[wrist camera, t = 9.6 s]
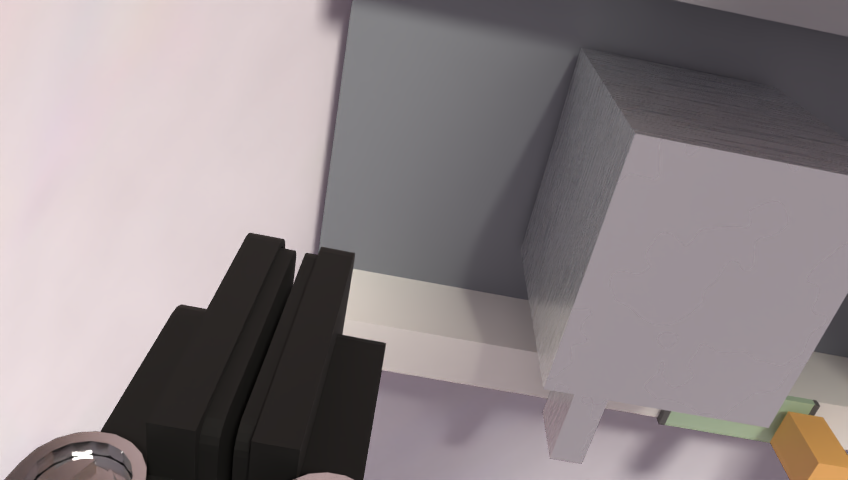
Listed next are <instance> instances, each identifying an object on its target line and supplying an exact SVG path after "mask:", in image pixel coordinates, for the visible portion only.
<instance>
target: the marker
mask: <svg viewBox="0 0 848 480" xmlns="http://www.w3.org/2000/svg"><path fill="white" fill-rule="evenodd" d="M770 443H771V445H772V447H773V449H774V451H775V453H776V455H777V457H778V458H779V460H780V462H781V464H782V466H783V468H784V470H785V472H786V473H787V475H788V477H789V479H790V480H848V455H847V453H846V452H845V450H844V449H843V447H842V446H841V444H840V443H839V441H838V439H837V438H836V436H835V435H834V433H833V432H832V430H831V429H830V427H829V426H828V424H827V422H826V421H825V419H824V418H823V417H818V416H813V415H807V414H801V413H795V412H790V411H788V412H787V414H786V416H785V417H784V419H783V421H782V422H781V424H780V426H779V427H778V429H777V431H776V432H775V434H774V436H773V438H772V439H771V441H770Z"/></svg>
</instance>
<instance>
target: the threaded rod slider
mask: <svg viewBox="0 0 848 480" xmlns="http://www.w3.org/2000/svg"><path fill="white" fill-rule="evenodd" d="M521 257H522V263H523V269H524V275H525V281H526V287H527V293H528V299H529V305H530V311H531V317H532V323H533V329H534V335H535V341H536V347H537V353H538V359H539V365H540V371H541V377H542V383H543V389H545V390H550V393H549V396H548V399H547V401H546V404H545V407H544V410H543V419H544V425H545V432H546V438H547V444H548V451H549V457H550V459H555V460H561V461H567V462H573V463H579V464H582V462H583V459H584V457H585V455H586V452H587V450H588V448H589V445H590V443H591V441H592V438H593V436H594V433H595V431H596V429H597V426H598V424H599V422H600V419H601V417H602V415H603V412H604V410H605V407H606V405H607V403H608V400H609V401H615V402H621V403H627V404H632V405H638V406H644V407H650V408H656V409H661V410H667V411H673V412H679V413H685V414H690V415H696V416H702V417H708V418H714V419H719V420H725V421H731V422H737V423H743V424H748V425H754V426H760V427H766V428H769V426H770V425H771V423H772V421H773V420H774V418H775V416H776V414H777V413H778V411H779V409H780V408H781V406H782V404H783V403H784V401H785V399H786V397H787V396H788V394H789V392H790V391H791V389H792V387H793V385H794V384H795V382H796V380H797V379H798V377H799V375H800V374H801V372H802V370H803V368H804V367H805V365H806V363H807V362H808V360H809V358H810V356H811V355H812V353H813V351H814V350H815V348H816V346H817V345H818V343H819V341H820V339H821V338H822V336H823V334H824V333H825V331H826V329H827V328H828V326H829V324H830V322H831V321H832V319H833V317H834V316H835V314H836V312H837V310H838V309H839V307H840V305H841V304H842V302H843V300H844V299H845V297H846V295H847V293H848V141H847V140H846V139H844V138H843V137H842V136H840V135H839V134H838V133H836V132H835V131H834V130H832V129H831V128H830V127H828V126H827V125H826V124H824V123H823V122H822V121H820V120H819V119H818V118H816V117H815V116H814V115H812V114H811V113H810V112H808V111H807V110H806V109H804V108H803V107H802V106H800V105H799V104H798V103H796V102H795V101H794V100H792V99H791V98H790V97H788V96H787V95H786V94H784V93H783V92H782V91H780V90H779V89H778V88H776V87H771V86H766V85H761V84H756V83H751V82H747V81H742V80H737V79H732V78H727V77H722V76H717V75H712V74H707V73H702V72H697V71H692V70H687V69H683V68H678V67H673V66H668V65H663V64H658V63H653V62H648V61H643V60H638V59H633V58H628V57H623V56H619V55H614V54H609V53H604V52H599V51H594V50H589V49H584V48H581V50H580V54H579V57H578V60H577V64H576V67H575V70H574V74H573V77H572V80H571V84H570V87H569V90H568V94H567V97H566V100H565V104H564V107H563V110H562V114H561V117H560V120H559V124H558V127H557V130H556V134H555V137H554V140H553V144H552V147H551V150H550V154H549V157H548V160H547V164H546V167H545V171H544V174H543V177H542V181H541V184H540V187H539V191H538V194H537V197H536V201H535V204H534V207H533V211H532V214H531V217H530V221H529V224H528V227H527V231H526V234H525V237H524V241H523V244H522V247H521Z"/></svg>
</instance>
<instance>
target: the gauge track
mask: <svg viewBox="0 0 848 480" xmlns="http://www.w3.org/2000/svg"><path fill="white" fill-rule="evenodd" d="M581 48H584V49H589V50H594V51H599V52H604V53H609V54H614V55H619V56H623V57H628V58H633V59H638V60H643V61H648V62H653V63H658V64H663V65H668V66H673V67H678V68H683V69H687V70H692V71H697V72H702V73H707V74H712V75H717V76H722V77H727V78H732V79H737V80H742V81H747V82H751V83H756V84H761V85H766V86H771V87H776V88H778V89H779V90H780V91H782V92H783V93H784V94H786V95H787V96H788V97H790V98H791V99H792V100H794V101H795V102H796V103H798V104H799V105H800V106H802V107H803V108H804V109H806V110H807V111H808V112H810V113H811V114H812V115H814V116H815V117H816V118H818V119H819V120H820V121H822V122H823V123H824V124H826V125H827V126H828V127H830V128H831V129H832V130H834V131H835V132H836V133H838V134H839V135H840V136H842V137H843V138H844V139H846V140H847V141H848V0H352V5H351V13H350V20H349V28H348V35H347V43H346V50H345V58H344V65H343V72H342V80H341V87H340V95H339V102H338V110H337V117H336V124H335V132H334V139H333V147H332V154H331V162H330V169H329V176H328V184H327V191H326V199H325V206H324V214H323V221H322V229H321V236H320V243H319V250H320V248H321V247H327V248H332V249H337V250H342V251H347V252H353V253H355V260H354V267H353V273H352V279H351V285H350V291H349V297H348V303H347V310H346V316H345V322H344V328H343V334H342V335H346V336H352V337H357V338H362V339H368V340H373V341H378V342H384V343H386V348H385V354H384V360H383V366H382V370H383V371H389V372H395V373H401V374H407V375H413V376H418V377H424V378H430V379H436V380H442V381H448V382H453V383H459V384H465V385H471V386H477V387H482V388H488V389H494V390H500V391H506V392H512V393H517V394H523V395H529V396H535V397H541V398H547V399H548V396H549V393H550V390H545V389H543V383H542V377H541V371H540V365H539V359H538V353H537V347H536V341H535V335H534V329H533V323H532V317H531V311H530V305H529V299H528V293H527V287H526V281H525V275H524V269H523V263H522V257H521V247H522V244H523V241H524V237H525V234H526V231H527V227H528V224H529V221H530V217H531V214H532V211H533V207H534V204H535V201H536V197H537V194H538V191H539V187H540V184H541V181H542V177H543V174H544V171H545V167H546V164H547V160H548V157H549V154H550V150H551V147H552V144H553V140H554V137H555V134H556V130H557V127H558V124H559V120H560V117H561V114H562V110H563V107H564V104H565V100H566V97H567V94H568V90H569V87H570V84H571V80H572V77H573V74H574V70H575V67H576V64H577V60H578V57H579V54H580V50H581ZM318 253H319V251H318ZM605 409H611V410H617V411H622V412H628V413H634V414H640V415H646V416H651V417H657V420H658V423H659V424H661V425H668V426H674V427H680V428H686V429H692V430H697V431H703V432H709V433H715V434H721V435H727V436H733V437H738V438H744V439H750V440H756V441H762V442H768V443H770V441H771V439H772V438H773V436H774V434H775V432H776V431H777V429H778V427H779V426H780V424H781V422H782V421H783V419H784V417H785V416H786V414H787V412H788V411H790V412H795V413H801V414H807V415H813V416H818V417H823V418H824V419H825V421H826V422H827V424H828V426H829V427H830V429H831V430H832V432H833V433H834V435H835V436H836V438H837V439H838V441H839V443H840V444H841V446H842V447H843V449H844V450H848V293H847V295H846V297H845V299H844V300H843V302H842V304H841V305H840V307H839V309H838V310H837V312H836V314H835V316H834V317H833V319H832V321H831V322H830V324H829V326H828V328H827V329H826V331H825V333H824V334H823V336H822V338H821V339H820V341H819V343H818V345H817V346H816V348H815V350H814V351H813V353H812V355H811V356H810V358H809V360H808V362H807V363H806V365H805V367H804V368H803V370H802V372H801V374H800V375H799V377H798V379H797V380H796V382H795V384H794V385H793V387H792V389H791V391H790V392H789V394H788V396H787V397H786V399H785V401H784V403H783V404H782V406H781V408H780V409H779V411H778V413H777V414H776V416H775V418H774V420H773V421H772V423H771V425H770V426H769V428H766V427H760V426H754V425H748V424H743V423H737V422H731V421H725V420H719V419H714V418H708V417H702V416H696V415H690V414H685V413H679V412H673V411H667V410H661V409H656V408H650V407H644V406H638V405H632V404H627V403H621V402H615V401H609V400H608V403H607V405H606V407H605Z"/></svg>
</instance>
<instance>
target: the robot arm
mask: <svg viewBox="0 0 848 480" xmlns="http://www.w3.org/2000/svg"><path fill="white" fill-rule="evenodd" d="M354 260H355V253H353V252H347V251H342V250H337V249H332V248H327V247H321V248H320V250H319V253H318V255H315V254H309V253H306V254H305V256H304V258H303V261H302V264H301V266H300V269H299V271H298V274H297V276H296V279H295V282H294V284H293V281H294V272H295V263H296V251H294V250H289V249H285V240H284V239H280V238H275V237H270V236H264V235H259V234H254V233H248V235H247V236H246V238H245V240H244V242H243V243H242V245H241V247H240V249H239V251H238V253H237V255H236V256H235V258H234V260H233V262H232V264H231V266H230V267H229V269H228V271H227V273H226V275H225V277H224V279H223V280H222V282H221V284H220V286H219V288H218V290H217V292H216V293H215V295H214V297H213V299H212V301H211V303H210V304H209V306H208V308H207V309H202V308H197V307H192V306H186V305H179V306H178V307H177V308H176V309H175V310H174V311H173V313H172V314H171V316H170V318H169V319H168V321H167V323H166V324H165V326H164V328H163V329H162V331H161V332H160V334H159V336H158V337H157V339H156V341H155V342H154V344H153V346H152V347H151V349H150V351H149V352H148V354H147V356H146V357H145V359H144V361H143V362H142V364H141V366H140V367H139V369H138V370H137V372H136V374H135V375H134V377H133V379H132V380H131V382H130V384H129V385H128V387H127V389H126V390H125V392H124V394H123V395H122V397H121V399H120V400H119V402H118V404H117V405H116V407H115V409H114V410H113V412H112V413H111V415H110V417H109V418H108V420H107V422H106V423H105V425H104V427H103V428H102V430H101V432H98V431H94V432H78V433H73V434H70V435H66V436H62V437H59V438H56V439H54V440H52V441H50V442H48V443H46V444H44V445H42V446H40V447H38V448H36V449H35V450H34V451H33V452H32V453H31V454H29V455H28V456H27V457H26V458H25V459H23V460H22V461H21V462H20V463H19V464H18V465H17V466H16V467H15V469H14V470H13V471H12V472H11V473H10V474H9V475H8V476H7V477H6V478H5V479H4V480H363V478H364V472H365V466H366V460H367V454H368V448H369V442H370V436H371V430H372V425H373V419H374V413H375V407H376V401H377V395H378V389H379V383H380V377H381V372H382V366H383V360H384V354H385V348H386V343H384V342H378V341H373V340H368V339H362V338H357V337H352V336H346V335H342V334H343V328H344V322H345V316H346V310H347V303H348V297H349V291H350V285H351V279H352V273H353V267H354Z"/></svg>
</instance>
